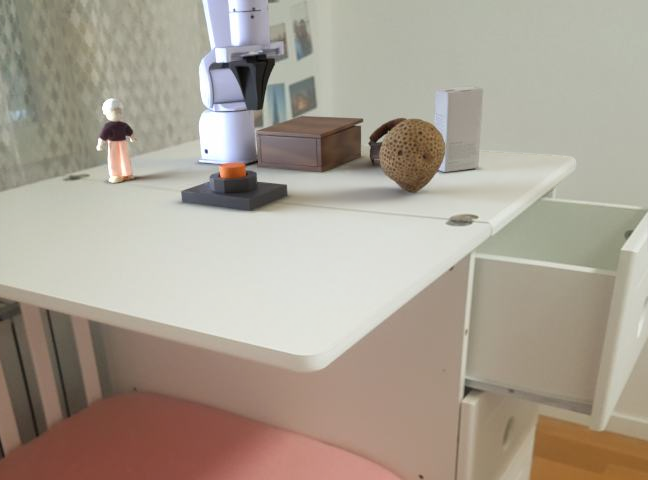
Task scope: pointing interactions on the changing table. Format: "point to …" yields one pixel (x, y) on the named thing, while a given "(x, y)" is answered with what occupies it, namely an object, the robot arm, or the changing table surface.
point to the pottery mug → (378, 134)
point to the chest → (309, 150)
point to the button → (232, 170)
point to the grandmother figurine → (116, 142)
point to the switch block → (235, 192)
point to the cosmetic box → (459, 126)
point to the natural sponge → (412, 153)
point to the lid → (310, 126)
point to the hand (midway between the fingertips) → (254, 109)
